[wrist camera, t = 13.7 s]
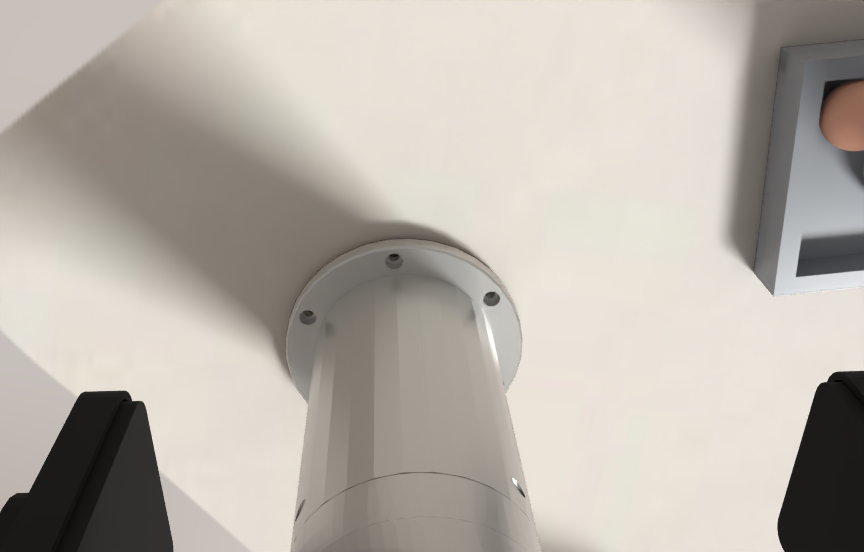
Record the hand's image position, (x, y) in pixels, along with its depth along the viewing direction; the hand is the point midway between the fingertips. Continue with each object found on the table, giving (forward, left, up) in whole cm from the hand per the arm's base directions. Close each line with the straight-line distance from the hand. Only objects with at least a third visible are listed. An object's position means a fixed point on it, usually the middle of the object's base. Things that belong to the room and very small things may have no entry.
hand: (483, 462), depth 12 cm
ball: (-5, -20, -28) cm, 35 cm away
